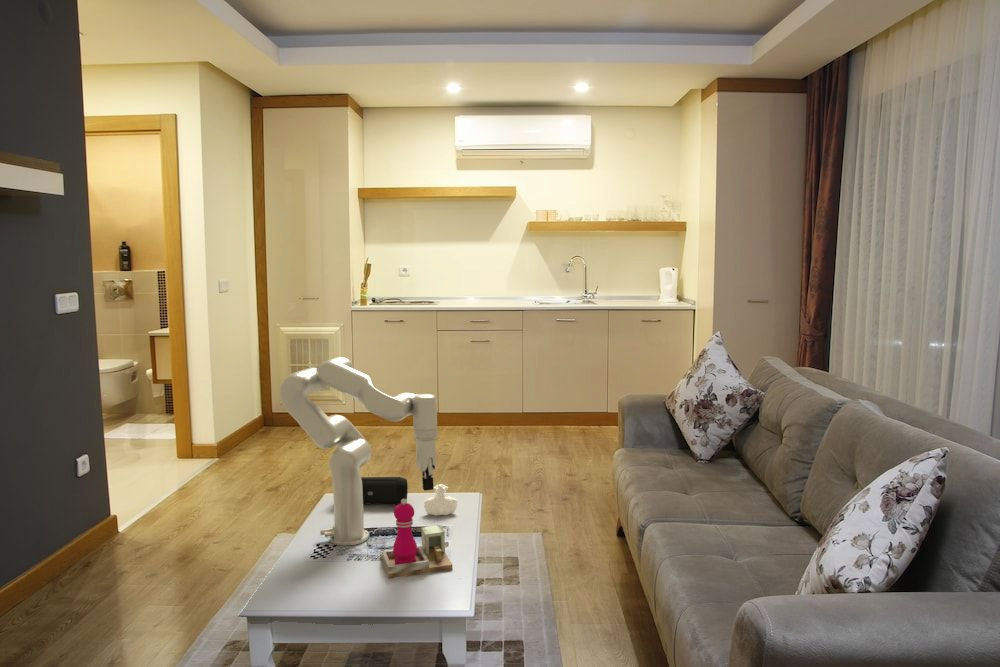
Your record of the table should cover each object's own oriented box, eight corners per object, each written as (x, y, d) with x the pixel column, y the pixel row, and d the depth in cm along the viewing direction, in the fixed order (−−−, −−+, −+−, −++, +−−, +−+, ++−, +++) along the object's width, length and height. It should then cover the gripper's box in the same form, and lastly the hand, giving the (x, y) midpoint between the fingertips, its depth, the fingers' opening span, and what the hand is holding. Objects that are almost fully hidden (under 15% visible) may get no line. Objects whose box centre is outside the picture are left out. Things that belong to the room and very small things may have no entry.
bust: (457, 518, 260) (456, 488, 266) (457, 511, 253) (456, 481, 259) (424, 519, 259) (424, 489, 265) (423, 512, 252) (423, 482, 258)
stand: (388, 578, 207) (388, 564, 206) (380, 556, 222) (380, 543, 221) (452, 569, 212) (452, 554, 212) (440, 548, 227) (439, 535, 227)
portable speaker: (336, 508, 265) (335, 482, 264) (342, 499, 275) (341, 474, 274) (404, 507, 265) (404, 481, 264) (408, 498, 275) (407, 473, 274)
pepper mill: (397, 570, 208) (396, 504, 206) (390, 561, 215) (388, 497, 213) (421, 565, 212) (419, 500, 209) (412, 556, 218) (411, 493, 216)
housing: (425, 554, 219) (425, 534, 219) (421, 546, 225) (421, 527, 224) (444, 551, 221) (444, 531, 220) (440, 544, 227) (440, 524, 226)
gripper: (409, 429, 233) (412, 484, 235) (418, 440, 218) (421, 498, 220) (432, 427, 235) (434, 481, 237) (442, 437, 221) (445, 494, 223)
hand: (428, 489), depth 229 cm, fingers closed
